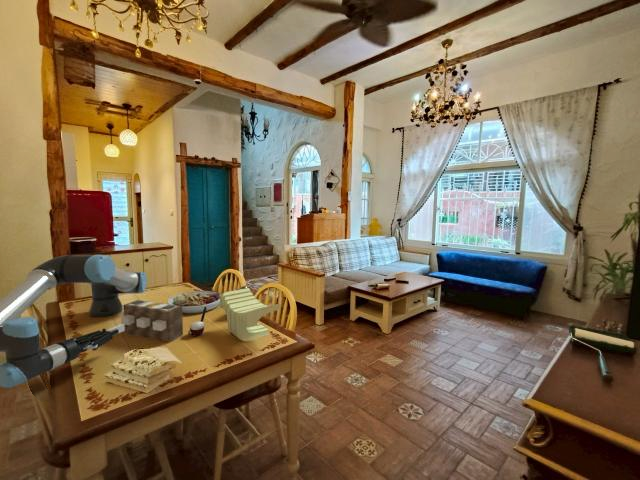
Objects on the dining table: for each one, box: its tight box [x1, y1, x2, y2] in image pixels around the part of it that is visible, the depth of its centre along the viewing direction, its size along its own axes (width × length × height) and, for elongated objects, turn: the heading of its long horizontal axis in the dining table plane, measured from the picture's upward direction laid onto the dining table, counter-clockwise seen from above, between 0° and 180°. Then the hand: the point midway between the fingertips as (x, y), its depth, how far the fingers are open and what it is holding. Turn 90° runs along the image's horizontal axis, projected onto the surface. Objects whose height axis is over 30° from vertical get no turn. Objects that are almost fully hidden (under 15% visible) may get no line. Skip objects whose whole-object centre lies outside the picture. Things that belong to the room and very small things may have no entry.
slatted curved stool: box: [219, 287, 281, 342], centre depth 143 cm, size 30×16×18 cm, turn 41°
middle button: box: [136, 317, 150, 328], centre depth 134 cm, size 4×3×3 cm
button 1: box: [120, 314, 135, 325], centre depth 137 cm, size 4×3×3 cm
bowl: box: [166, 290, 222, 315], centre depth 179 cm, size 30×30×8 cm
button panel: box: [122, 299, 184, 343], centre depth 139 cm, size 26×8×15 cm, turn 74°
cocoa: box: [187, 307, 207, 337], centre depth 141 cm, size 10×6×12 cm, turn 125°
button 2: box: [153, 320, 167, 331], centre depth 132 cm, size 4×3×3 cm
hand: (122, 327), depth 124 cm, fingers closed
